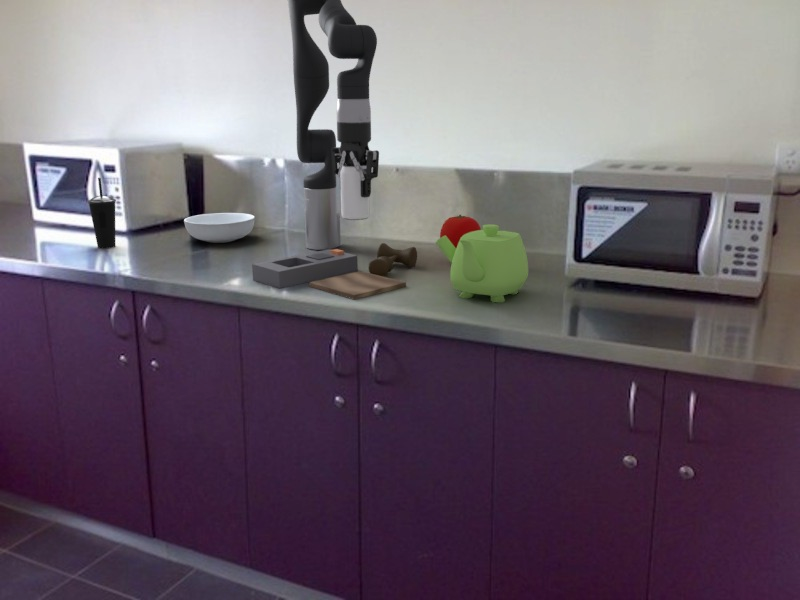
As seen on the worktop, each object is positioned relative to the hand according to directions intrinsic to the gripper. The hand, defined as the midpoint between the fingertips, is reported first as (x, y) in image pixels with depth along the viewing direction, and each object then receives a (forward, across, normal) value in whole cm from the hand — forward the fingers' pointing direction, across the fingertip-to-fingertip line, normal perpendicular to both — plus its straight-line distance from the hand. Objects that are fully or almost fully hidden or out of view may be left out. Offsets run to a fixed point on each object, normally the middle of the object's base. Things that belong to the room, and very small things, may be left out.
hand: (355, 195), depth 178 cm
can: (+5, 0, 0) cm, 5 cm away
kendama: (+22, +7, -18) cm, 29 cm away
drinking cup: (+22, +86, +22) cm, 91 cm away
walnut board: (+21, 0, 0) cm, 21 cm away
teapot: (+22, -24, -14) cm, 35 cm away
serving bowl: (+22, +71, -7) cm, 74 cm away
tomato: (+22, -1, -35) cm, 41 cm away
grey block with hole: (+21, +17, +2) cm, 27 cm away
